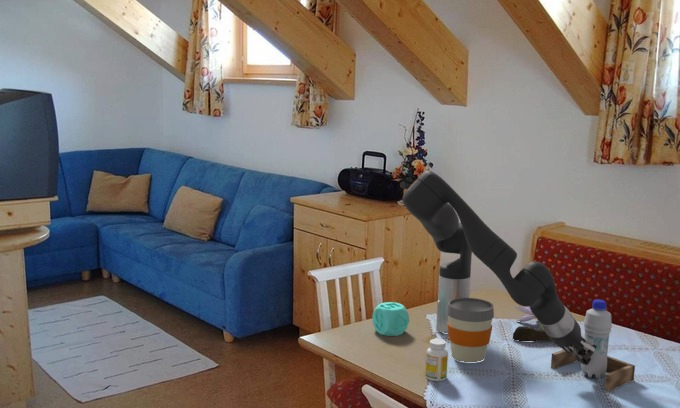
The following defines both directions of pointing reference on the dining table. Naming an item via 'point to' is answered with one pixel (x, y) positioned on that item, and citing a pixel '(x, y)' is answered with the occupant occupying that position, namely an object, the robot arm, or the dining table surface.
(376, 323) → the decorative dice
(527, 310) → the water lily
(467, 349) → the reusable coffee cup
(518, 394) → the dining table surface
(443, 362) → the supplement bottle
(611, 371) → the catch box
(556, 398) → the dining table surface
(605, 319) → the bottle
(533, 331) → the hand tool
